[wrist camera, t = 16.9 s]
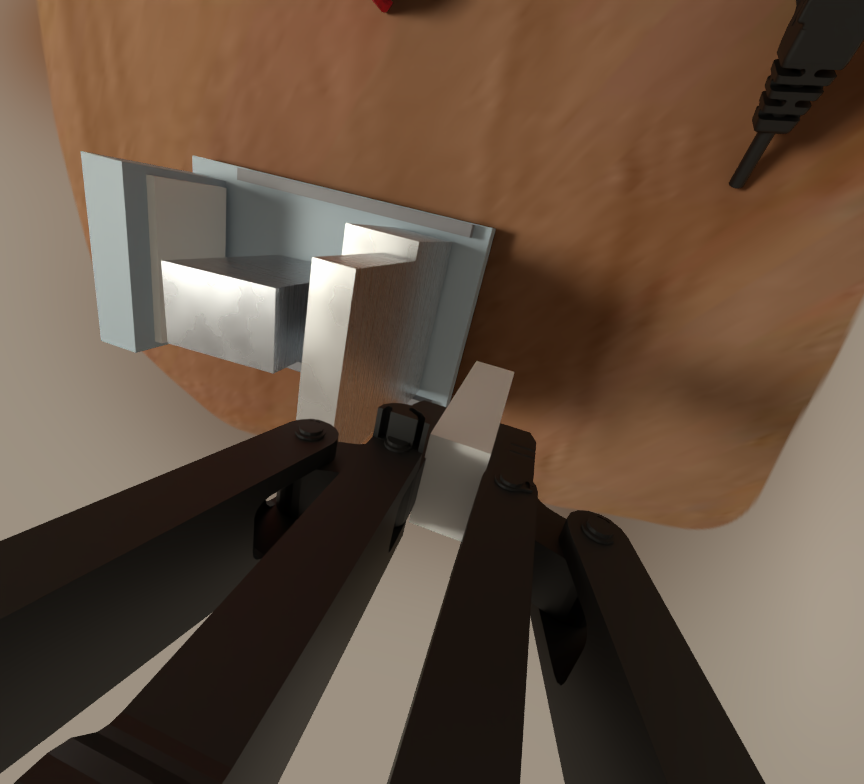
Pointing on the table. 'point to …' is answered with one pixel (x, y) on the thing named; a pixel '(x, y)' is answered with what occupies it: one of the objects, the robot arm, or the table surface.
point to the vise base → (252, 244)
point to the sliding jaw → (369, 325)
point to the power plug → (803, 70)
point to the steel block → (239, 308)
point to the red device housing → (383, 4)
